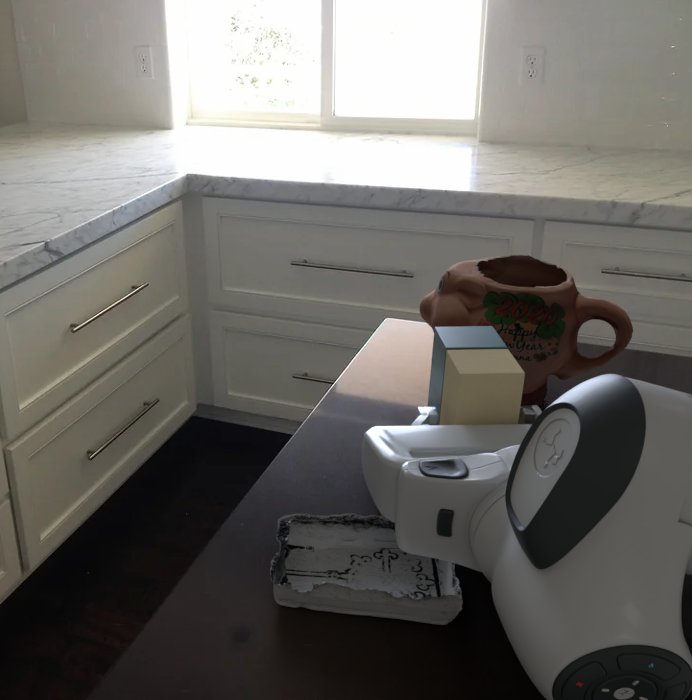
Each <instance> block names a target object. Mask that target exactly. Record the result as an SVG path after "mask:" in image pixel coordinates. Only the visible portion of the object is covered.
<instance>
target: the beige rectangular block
mask: <svg viewBox="0 0 692 700" xmlns="http://www.w3.org/2000/svg"><path fill="white" fill-rule="evenodd" d="M524 377H525V372H524V371H523V370H522V368H521V367H520V365H519V364H518V363H517V361H516V360H515V358H514V357H513V355H512V354H511V353H510V351H509V350H508V349H476V350H447V351H446V361H445V371H444V381H443V392H442V402H441V412H440V423H439V425H503V424H518V420H519V413H520V406H521V399H522V392H523V384H524Z"/></svg>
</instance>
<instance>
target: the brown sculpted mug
mask: <svg viewBox="0 0 692 700" xmlns="http://www.w3.org/2000/svg"><path fill="white" fill-rule="evenodd" d="M419 315H420V317H421V318H422V319H423V321H424V322H425V323H426V324H427V325H428V326H429V327H430V328H431V330H432V332H433V333H434V329H435V327H459V326H493V328H494V329H495V330H496V332H497V333H498V335H499V336H500V338H501V339H502V340H503V342H504V343H505V345H506V346H507V349H508V350H509V351H510V353H511V354H512V355H513V357H514V358H515V360H516V361H517V363H518V364H519V365H520V367H521V368H522V370H523V371H524V372H525V377H524V384H523V392H522V399H521V406H524V405H538V407H539V406H540V405H541V404H542V403H543V402H544V400H545V398H546V396H547V392H548V388H547V385H548V380H549V379H548V378H549V376H555V377H556V378H557V379H559V380H561V381H565V380H568V379H570V378H574V377H576V376H579V375H583V374H587V373H589V372H592V371H594V370H595V369H598V368H600V367H603V366H604V365H606V364H607V363H608V362H609V361H611V360H613V359H615V358H616V357H617V356H619V355H620V354H622V353H623V352H624V350H625V349H626V348H627V347H628V345H629V344H630V342H631V340H632V337H633V333H634V327H633V323H632V321H631V318H630V316H629V315H628V313H627V312H626V311H625V309H623V308H622V307H621V306H620V305H618V304H616V303H614V302H612V301H610V300H607V299H604V298H599V297H594V296H584V295H582V294H581V292H579V290H578V288H577V286H576V283H575V279H574V277H573V275H572V273H570V272H569V271H568V270H566V269H564V268H562V267H561V266H560V265H557V264H556V263H555V264H554V263H551V262H548V261H545V260H541V259H538V258H535V257H533V256H531V255H525V254H518V255H517V254H516V255H515V254H514V255H512V254H511V255H500V256H489V257H485V258H481V259H470V260H464V261H463V260H462V261H460V262H457V263H455V264H453V265H451V266H450V267H448V268H447V269H446V270H445V271H444V272H443V274H442V275H441V276H440V279H439V282H438V284H437V286H436V287H435V289H433V291H431V292H429V293H427V294H426V295H425V296H424V297H422V299H421V301H420V304H419ZM592 320H597V321H598V320H599V321H603V322H605V323H607V324H608V325H610V327H611V328H612V329H613V332H614V335H615V340H614V344H613V345H611V347H609V348H608V349H607V350H605V351H603V352H601V353H600V354H598V355H595V356H586V355H583V354H581V353H580V352H579V349H578V336H579V331H580V329H581V327H582V326H583V324H585V323H587V322H588V321H592Z"/></svg>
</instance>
